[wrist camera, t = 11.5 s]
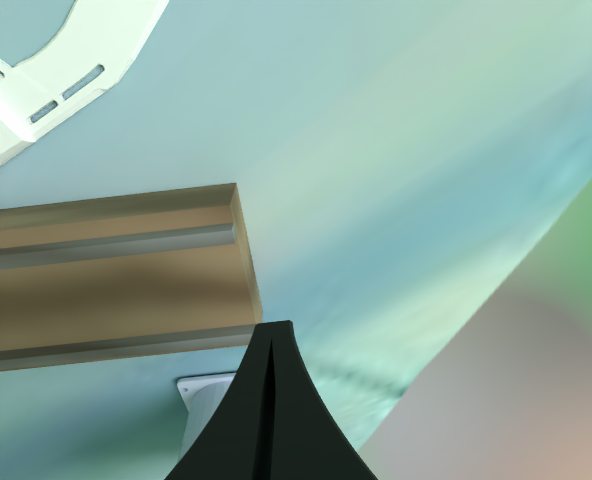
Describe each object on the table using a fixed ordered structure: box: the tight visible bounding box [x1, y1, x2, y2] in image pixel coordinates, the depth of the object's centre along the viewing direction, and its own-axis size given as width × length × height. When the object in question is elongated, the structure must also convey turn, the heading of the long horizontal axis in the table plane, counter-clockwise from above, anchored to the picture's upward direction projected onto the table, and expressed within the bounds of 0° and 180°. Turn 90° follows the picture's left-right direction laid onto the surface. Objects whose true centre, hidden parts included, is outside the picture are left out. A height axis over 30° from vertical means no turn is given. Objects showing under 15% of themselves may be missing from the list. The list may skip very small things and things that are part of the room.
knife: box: [0, 0, 169, 166], centre depth 15 cm, size 30×2×8 cm
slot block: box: [0, 183, 263, 371], centre depth 21 cm, size 10×22×4 cm, turn 96°
